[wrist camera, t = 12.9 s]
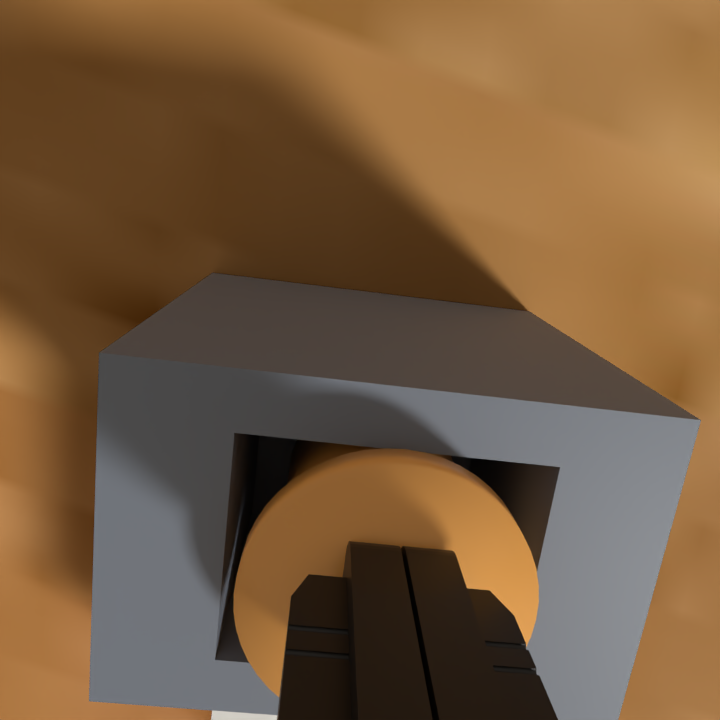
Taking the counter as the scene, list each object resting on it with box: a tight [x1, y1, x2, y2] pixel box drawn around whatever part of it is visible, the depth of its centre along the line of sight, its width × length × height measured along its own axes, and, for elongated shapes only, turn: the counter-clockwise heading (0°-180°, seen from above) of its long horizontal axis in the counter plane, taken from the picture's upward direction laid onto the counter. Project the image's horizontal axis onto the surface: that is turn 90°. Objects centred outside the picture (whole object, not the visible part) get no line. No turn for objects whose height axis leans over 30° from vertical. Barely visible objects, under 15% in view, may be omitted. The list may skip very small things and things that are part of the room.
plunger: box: [233, 439, 539, 697], centre depth 12 cm, size 4×4×5 cm
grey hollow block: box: [89, 273, 701, 720], centre depth 15 cm, size 9×6×9 cm, turn 83°
